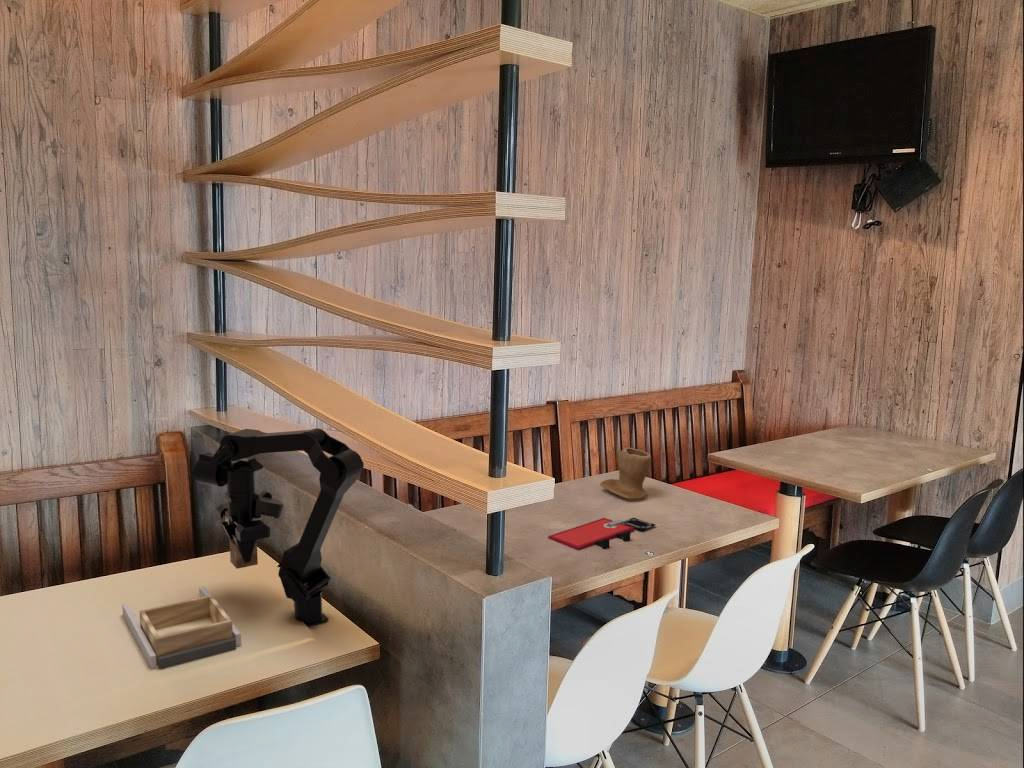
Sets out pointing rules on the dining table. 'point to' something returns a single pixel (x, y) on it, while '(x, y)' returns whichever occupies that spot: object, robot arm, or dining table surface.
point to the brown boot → (630, 474)
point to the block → (237, 558)
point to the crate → (185, 625)
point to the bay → (183, 655)
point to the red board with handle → (599, 533)
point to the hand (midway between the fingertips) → (243, 558)
